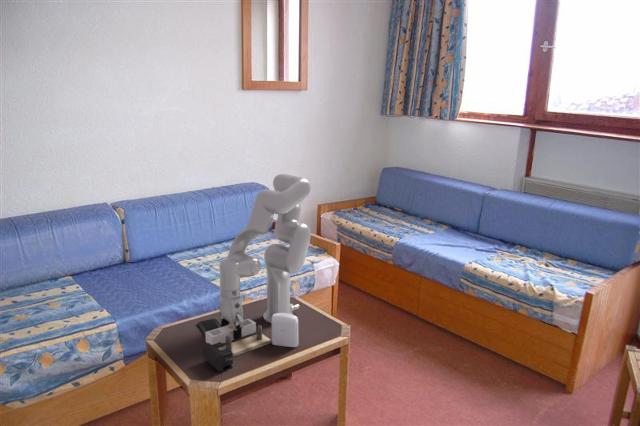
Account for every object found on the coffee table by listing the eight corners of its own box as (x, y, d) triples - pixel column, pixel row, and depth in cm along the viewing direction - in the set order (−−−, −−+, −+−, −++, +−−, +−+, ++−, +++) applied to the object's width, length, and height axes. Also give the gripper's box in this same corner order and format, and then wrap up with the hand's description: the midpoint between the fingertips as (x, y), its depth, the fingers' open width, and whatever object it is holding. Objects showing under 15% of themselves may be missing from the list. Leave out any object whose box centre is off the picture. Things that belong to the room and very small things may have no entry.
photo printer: (269, 345, 186) (269, 314, 183) (273, 339, 190) (273, 309, 187) (296, 349, 184) (296, 318, 181) (299, 343, 188) (300, 313, 185)
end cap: (201, 362, 174) (200, 345, 172) (219, 356, 178) (219, 339, 177) (215, 375, 166) (214, 357, 165) (233, 368, 171) (233, 350, 169)
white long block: (249, 327, 200) (249, 317, 199) (256, 332, 196) (255, 321, 195) (205, 341, 188) (205, 330, 187) (212, 347, 184) (211, 336, 183)
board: (260, 335, 193) (260, 321, 192) (271, 342, 188) (271, 327, 187) (216, 351, 181) (216, 335, 180) (226, 359, 176) (225, 343, 175)
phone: (215, 318, 206) (228, 333, 193) (215, 320, 206) (228, 336, 193) (196, 322, 202) (208, 338, 189) (196, 324, 202) (208, 340, 189)
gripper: (251, 296, 183) (251, 339, 187) (227, 282, 196) (228, 322, 200) (233, 302, 179) (234, 345, 183) (210, 286, 191) (211, 328, 196)
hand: (231, 333), depth 192 cm, fingers open, 8 cm apart
